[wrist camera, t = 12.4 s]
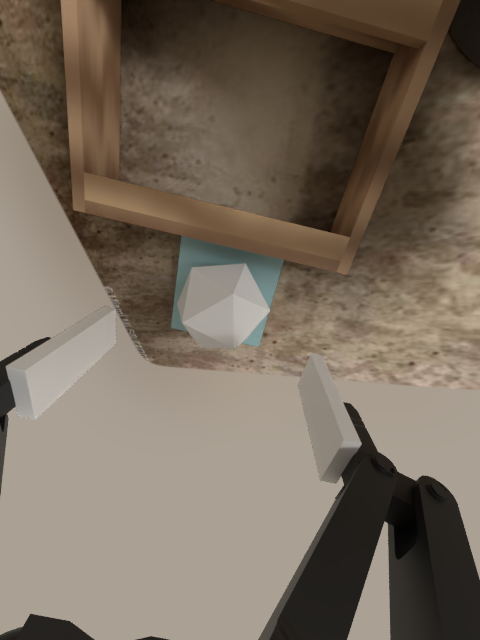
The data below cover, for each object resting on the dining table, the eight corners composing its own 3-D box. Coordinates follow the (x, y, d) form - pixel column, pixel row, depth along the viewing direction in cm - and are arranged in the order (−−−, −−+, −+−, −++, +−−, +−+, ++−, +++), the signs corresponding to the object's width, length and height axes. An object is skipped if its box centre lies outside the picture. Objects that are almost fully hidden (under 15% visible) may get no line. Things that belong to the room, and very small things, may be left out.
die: (175, 302, 28) (188, 377, 23) (169, 241, 21) (185, 329, 16) (240, 295, 31) (265, 362, 25) (254, 237, 24) (291, 313, 19)
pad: (184, 233, 25) (181, 234, 25) (283, 257, 26) (284, 259, 25) (173, 324, 30) (170, 327, 29) (258, 343, 30) (258, 347, 29)
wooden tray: (108, -49, 18) (51, -156, 13) (411, 39, 19) (470, -25, 14) (109, 211, 25) (73, 210, 20) (328, 263, 26) (347, 274, 21)
